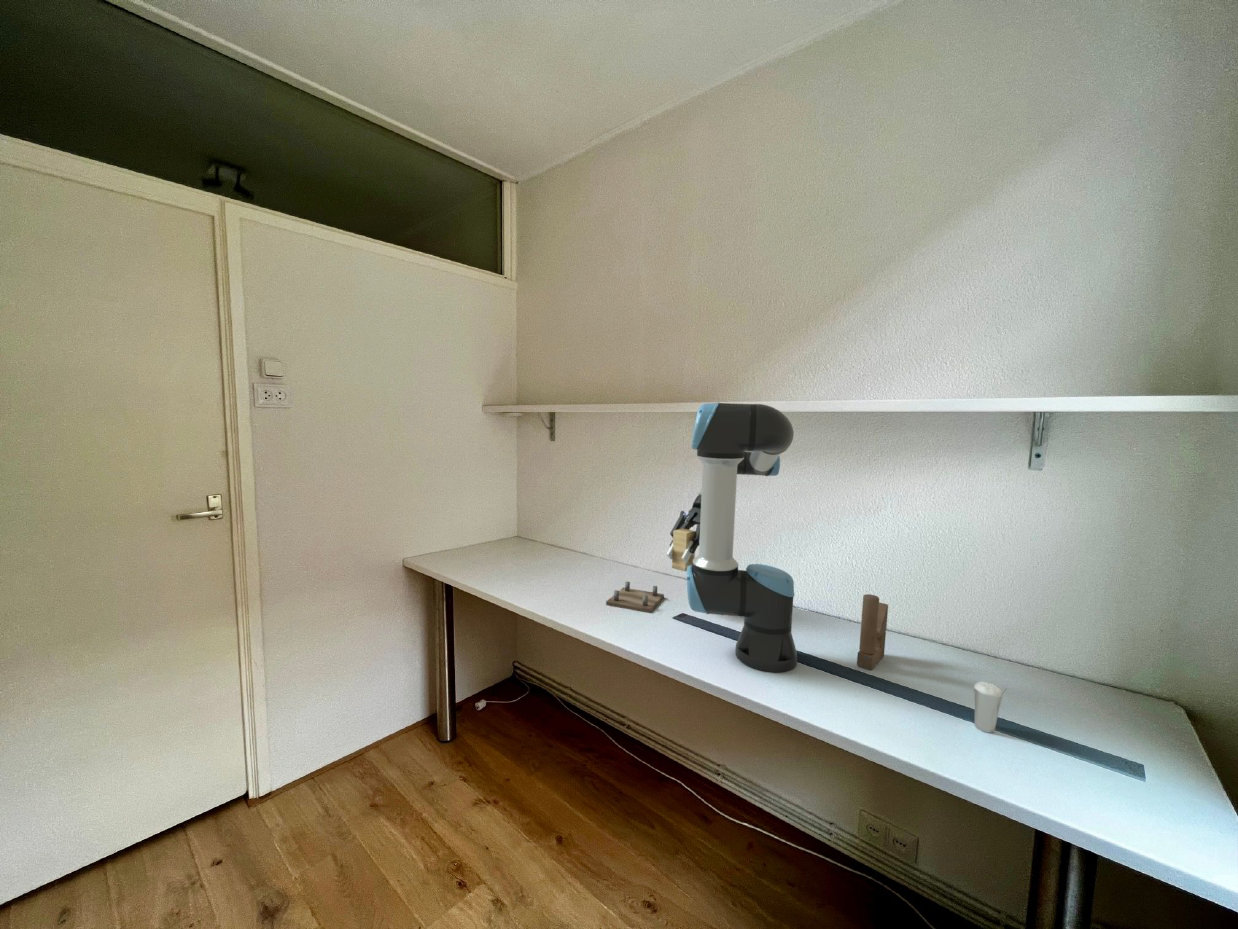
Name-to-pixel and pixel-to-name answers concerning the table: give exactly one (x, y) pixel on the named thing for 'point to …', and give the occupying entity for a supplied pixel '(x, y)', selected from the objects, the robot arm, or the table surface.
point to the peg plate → (635, 599)
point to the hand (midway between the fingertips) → (676, 558)
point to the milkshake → (987, 706)
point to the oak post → (682, 548)
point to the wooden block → (872, 632)
